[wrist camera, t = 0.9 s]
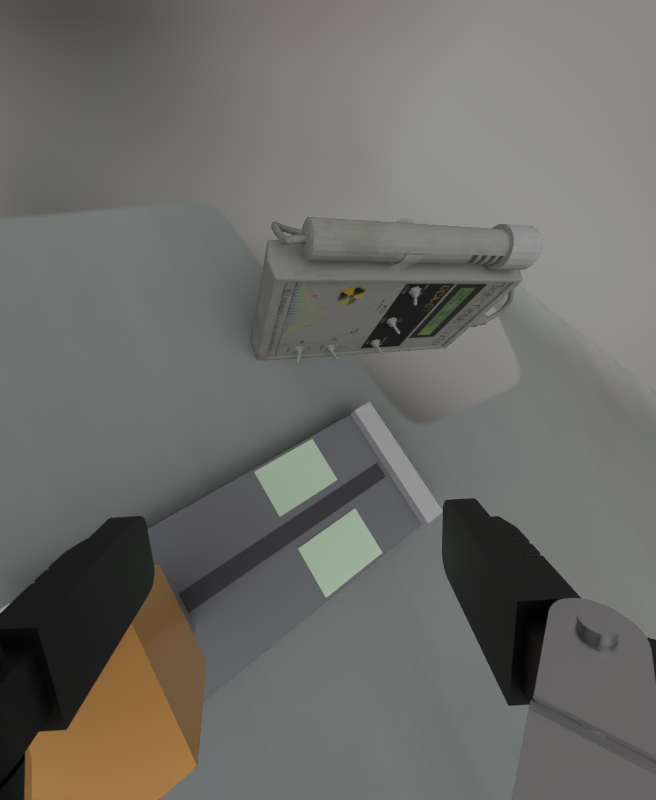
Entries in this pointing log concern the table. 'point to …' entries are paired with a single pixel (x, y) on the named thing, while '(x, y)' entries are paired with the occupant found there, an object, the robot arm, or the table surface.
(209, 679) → the console
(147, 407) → the table surface
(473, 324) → the geiger counter
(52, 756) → the panel
